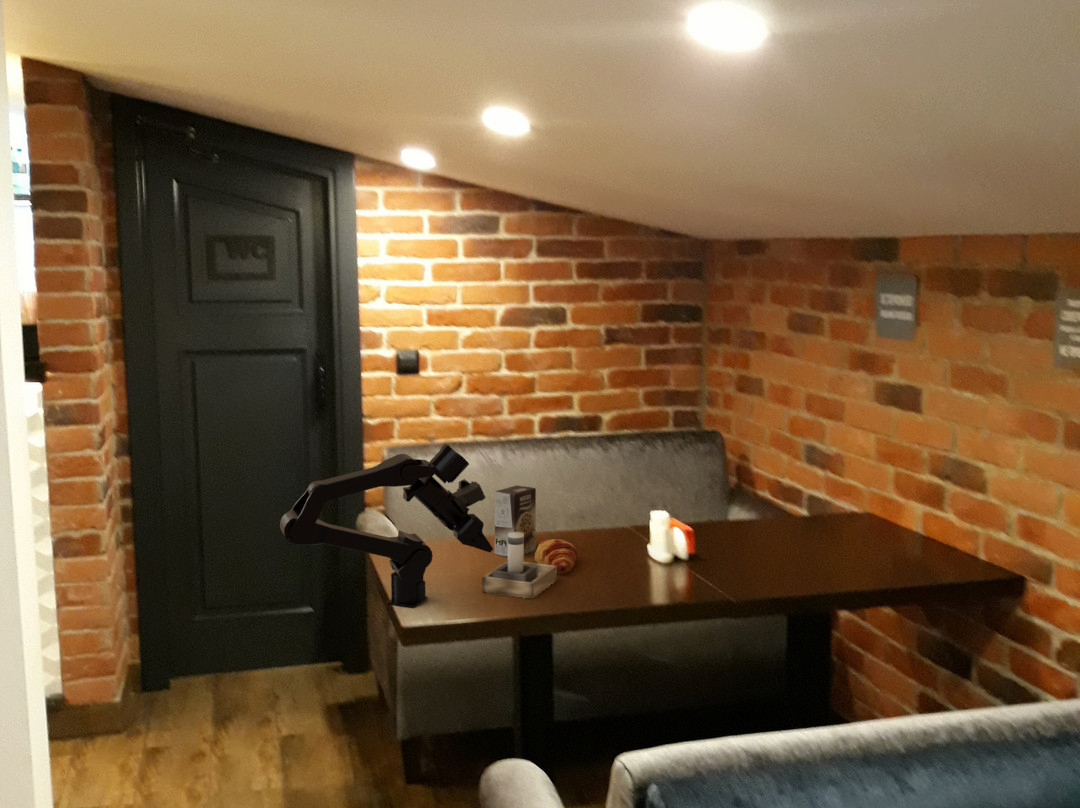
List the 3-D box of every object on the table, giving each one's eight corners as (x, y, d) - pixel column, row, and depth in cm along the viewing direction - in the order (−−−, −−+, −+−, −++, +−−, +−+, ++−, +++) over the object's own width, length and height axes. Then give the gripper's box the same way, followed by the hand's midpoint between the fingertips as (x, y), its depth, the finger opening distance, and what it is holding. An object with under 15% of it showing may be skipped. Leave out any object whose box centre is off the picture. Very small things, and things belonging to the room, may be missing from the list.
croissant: (536, 566, 267) (521, 539, 265) (571, 546, 268) (556, 519, 266) (553, 591, 246) (537, 562, 245) (591, 569, 247) (575, 540, 246)
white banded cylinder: (510, 589, 236) (510, 536, 234) (505, 584, 239) (505, 532, 237) (525, 587, 237) (526, 535, 235) (520, 583, 240) (521, 531, 238)
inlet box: (482, 592, 236) (482, 571, 235) (508, 574, 249) (508, 554, 248) (532, 599, 232) (532, 578, 231) (556, 580, 244) (556, 560, 244)
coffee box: (514, 558, 261) (514, 494, 259) (493, 554, 265) (493, 490, 263) (536, 550, 268) (536, 487, 266) (516, 546, 272) (516, 484, 270)
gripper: (474, 480, 221) (524, 528, 226) (451, 462, 239) (498, 508, 244) (436, 520, 220) (487, 567, 225) (417, 499, 237) (465, 544, 242)
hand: (485, 545), depth 234 cm, fingers open, 9 cm apart
